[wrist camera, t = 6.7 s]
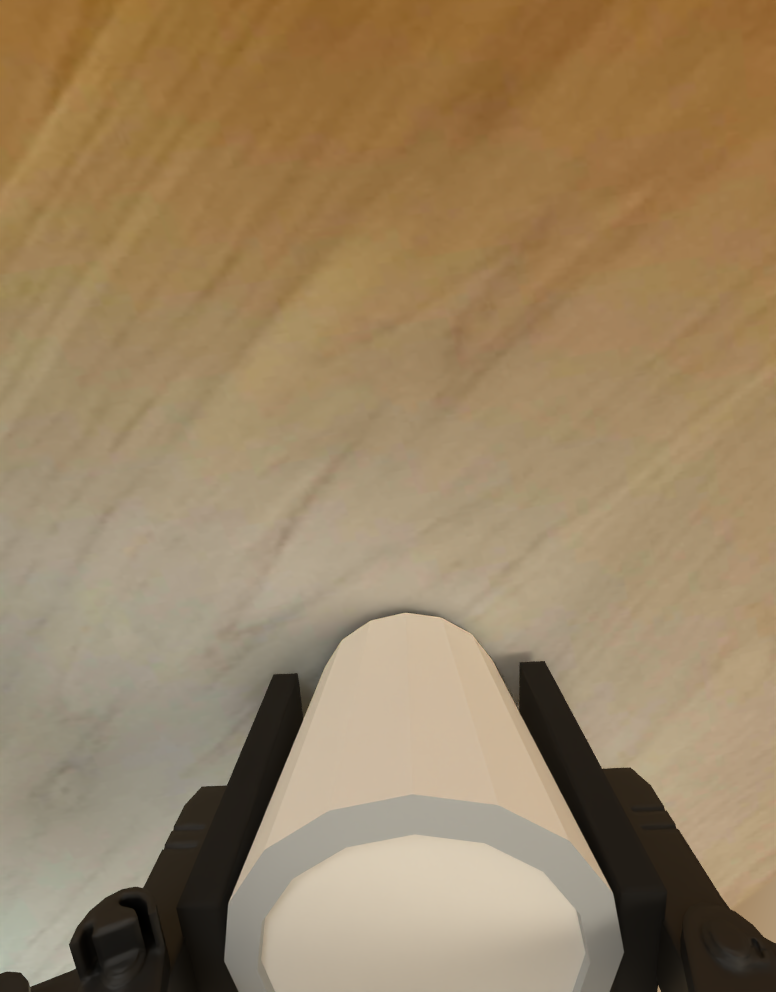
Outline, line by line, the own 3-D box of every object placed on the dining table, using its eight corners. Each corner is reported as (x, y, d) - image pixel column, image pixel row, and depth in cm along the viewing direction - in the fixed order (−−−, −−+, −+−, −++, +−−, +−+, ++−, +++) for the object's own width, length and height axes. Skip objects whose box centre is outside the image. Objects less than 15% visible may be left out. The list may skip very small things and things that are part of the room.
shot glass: (339, 563, 14) (283, 747, 7) (554, 634, 14) (704, 873, 7) (275, 747, 15) (178, 1045, 8) (470, 805, 16) (528, 1133, 9)
